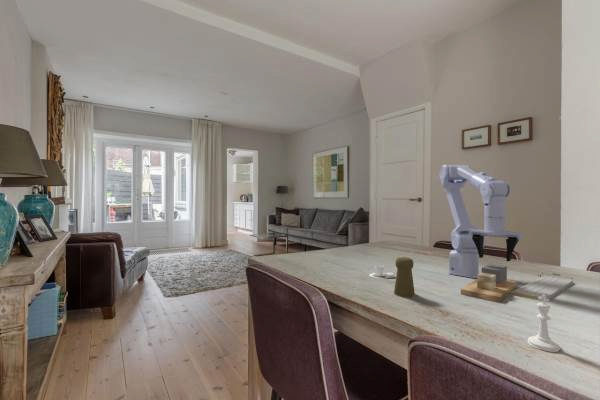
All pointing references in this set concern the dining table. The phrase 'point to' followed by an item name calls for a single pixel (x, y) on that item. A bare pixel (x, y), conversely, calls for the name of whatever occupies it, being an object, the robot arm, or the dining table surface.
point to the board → (489, 291)
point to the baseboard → (543, 287)
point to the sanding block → (496, 272)
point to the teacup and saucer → (381, 272)
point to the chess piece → (543, 330)
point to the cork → (404, 277)
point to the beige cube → (486, 281)
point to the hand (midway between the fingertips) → (494, 259)
